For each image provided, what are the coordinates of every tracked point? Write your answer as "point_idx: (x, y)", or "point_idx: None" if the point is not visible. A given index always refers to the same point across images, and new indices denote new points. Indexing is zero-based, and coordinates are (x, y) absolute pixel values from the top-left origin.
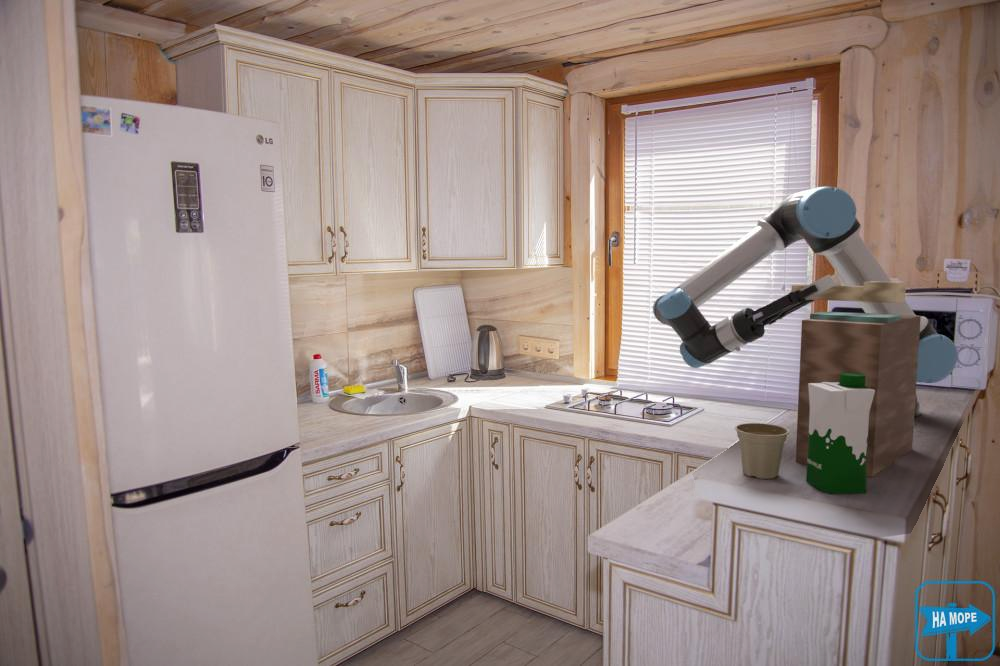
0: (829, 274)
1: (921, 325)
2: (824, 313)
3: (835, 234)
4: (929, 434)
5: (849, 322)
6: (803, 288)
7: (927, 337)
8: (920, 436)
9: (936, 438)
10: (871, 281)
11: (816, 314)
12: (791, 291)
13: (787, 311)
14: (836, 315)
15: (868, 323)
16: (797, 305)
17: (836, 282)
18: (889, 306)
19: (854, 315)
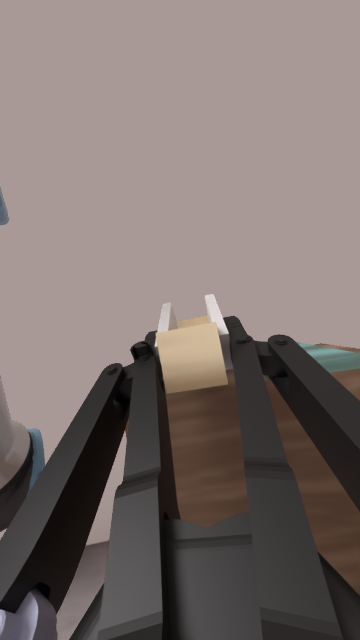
0: (205, 295)
1: (19, 425)
2: (324, 355)
3: (5, 214)
4: (84, 562)
5: (340, 348)
6: (226, 330)
7: (36, 436)
8: (100, 568)
9: (107, 547)
10: (183, 320)
11: (356, 353)
12: (220, 350)
13: (174, 486)
14: (330, 348)
15: (322, 346)
16: (168, 425)
17: (175, 322)
18: (5, 407)
19: (303, 347)
